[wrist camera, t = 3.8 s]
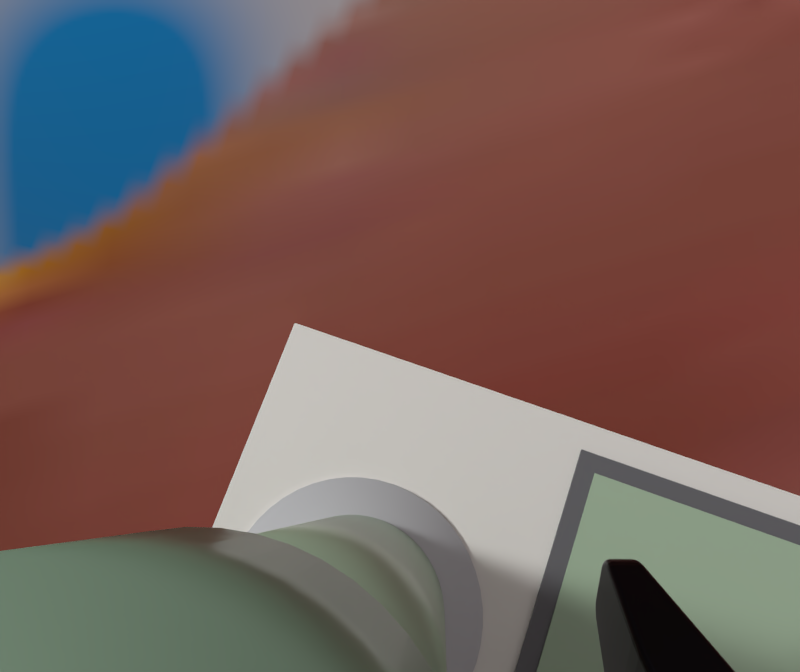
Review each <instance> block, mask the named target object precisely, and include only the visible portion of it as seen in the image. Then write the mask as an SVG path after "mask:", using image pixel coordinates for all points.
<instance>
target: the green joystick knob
mask: <svg viewBox="0 0 800 672" xmlns="http://www.w3.org/2000/svg"><path fill="white" fill-rule="evenodd" d="M0 672H447V664H446V637H445V611H444V601H443V594H442V590H441V586H440V582H439V580H438V577H437V574H436V572H435V570H434V568H433V566H432V564H431V562H430V560H429V559H428V557H427V556H426V554H425V553H424V552H423V550H422V549H421V548H420V547H419V546H418V544H417V543H416V542H415V541H414V540H413V539H412V538H410V537H409V536H408V535H407V534H406V533H404V532H403V531H402V530H400V529H398V528H397V527H395V526H394V525H392V524H389V523H387V522H385V521H383V520H380V519H376V518H373V517H369V516H363V515H340V516H333V517H329V518H324V519H320V520H315V521H311V522H306V523H302V524H297V525H293V526H288V527H284V528H279V529H275V530H270V531H266V532H262V533H257V534H255V533H249V532H243V531H237V530H231V529H225V528H205V527H182V528H173V529H165V530H156V531H148V532H140V533H133V534H125V535H118V536H110V537H103V538H95V539H88V540H80V541H73V542H65V543H58V544H50V545H43V546H35V547H28V548H20V549H13V550H5V551H0Z"/></svg>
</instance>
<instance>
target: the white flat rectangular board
mask: <svg viewBox="0 0 800 672" xmlns="http://www.w3.org/2000/svg"><path fill="white" fill-rule="evenodd" d="M340 515H363V516H369V517H373V518H376V519H380V520H383V521H385V522H387V523H389V524H392V525H394V526H395V527H397V528H398V529H400V530H402V531H403V532H404V533H406V534H407V535H408V536H409V537H410V538H412V539H413V540H414V541H415V542H416V543H417V544H418V546H419V547H420V548H421V549H422V550H423V552H424V553H425V554H426V556H427V557H428V559H429V560H430V562H431V564H432V566H433V568H434V570H435V572H436V574H437V577H438V580H439V582H440V586H441V590H442V594H443V601H444V611H445V637H446V664H447V672H604V667H603V660H602V654H601V647H600V641H599V634H598V628H597V621H596V608H595V606H596V597H597V591H598V585H599V579H600V574H601V568H602V565H603V563H604V561H605V560H607V559H634V560H637V561H639V562H640V563H642V564H643V566H644V567H645V568H646V569H647V570H648V571H649V572H650V574H651V575H652V576H653V577H654V578H655V579H656V581H657V582H658V583H659V584H660V585H661V586H662V588H663V589H664V590H665V591H666V592H667V593H668V594H669V596H670V597H671V598H672V599H673V600H674V601H675V603H676V604H677V605H678V606H679V607H680V608H681V610H682V611H683V612H684V613H685V614H686V615H687V617H688V618H689V619H690V620H691V621H692V622H693V624H694V625H695V626H696V627H697V628H698V629H699V630H700V632H701V633H702V634H703V635H704V636H705V637H706V639H707V640H708V641H709V642H710V643H711V644H712V646H713V647H714V648H715V649H716V650H717V651H718V653H719V654H720V655H721V656H722V657H723V658H724V659H725V661H726V662H727V663H728V664H729V665H730V666H731V668H732V669H733V670H734V671H735V672H800V496H798V495H795V494H792V493H789V492H786V491H783V490H780V489H777V488H775V487H772V486H769V485H766V484H763V483H760V482H757V481H754V480H751V479H748V478H745V477H742V476H740V475H737V474H734V473H731V472H728V471H725V470H722V469H719V468H716V467H713V466H710V465H707V464H705V463H702V462H699V461H696V460H693V459H690V458H687V457H684V456H681V455H678V454H675V453H672V452H670V451H667V450H664V449H661V448H658V447H655V446H652V445H649V444H646V443H643V442H640V441H638V440H635V439H632V438H629V437H626V436H623V435H620V434H617V433H614V432H611V431H608V430H605V429H603V428H600V427H597V426H594V425H591V424H588V423H585V422H582V421H579V420H576V419H573V418H570V417H568V416H565V415H562V414H559V413H556V412H553V411H550V410H547V409H544V408H541V407H538V406H536V405H533V404H530V403H527V402H524V401H521V400H518V399H515V398H512V397H509V396H506V395H503V394H501V393H498V392H495V391H492V390H489V389H486V388H483V387H480V386H477V385H474V384H471V383H468V382H466V381H463V380H460V379H457V378H454V377H451V376H448V375H445V374H442V373H439V372H436V371H433V370H431V369H428V368H425V367H422V366H419V365H416V364H413V363H410V362H407V361H404V360H401V359H399V358H396V357H393V356H390V355H387V354H384V353H381V352H378V351H375V350H372V349H369V348H366V347H364V346H361V345H358V344H355V343H352V342H349V341H346V340H343V339H340V338H337V337H334V336H331V335H329V334H326V333H323V332H320V331H317V330H314V329H311V328H308V327H305V326H302V325H299V324H296V323H295V324H294V326H293V329H292V331H291V334H290V336H289V339H288V341H287V344H286V346H285V349H284V351H283V353H282V356H281V358H280V361H279V363H278V366H277V368H276V371H275V373H274V376H273V378H272V381H271V383H270V386H269V388H268V391H267V393H266V396H265V398H264V401H263V403H262V406H261V408H260V410H259V413H258V415H257V418H256V420H255V423H254V425H253V428H252V430H251V433H250V435H249V438H248V440H247V443H246V445H245V448H244V450H243V453H242V455H241V458H240V460H239V463H238V465H237V468H236V470H235V472H234V475H233V477H232V480H231V482H230V485H229V487H228V490H227V492H226V495H225V497H224V500H223V502H222V505H221V507H220V510H219V512H218V515H217V517H216V520H215V522H214V525H213V527H212V528H225V529H231V530H237V531H243V532H249V533H255V534H257V533H262V532H266V531H270V530H275V529H279V528H284V527H288V526H293V525H297V524H302V523H306V522H311V521H315V520H320V519H324V518H329V517H333V516H340Z"/></svg>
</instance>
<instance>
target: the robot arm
mask: <svg viewBox="0 0 800 672" xmlns="http://www.w3.org/2000/svg"><path fill="white" fill-rule="evenodd" d="M595 608H596V621H597V628H598V634H599V641H600V647H601V654H602V660H603V667H604V672H735V671H734V670H733V669H732V668H731V666H730V665H729V664H728V663H727V662H726V661H725V659H724V658H723V657H722V656H721V655H720V654H719V653H718V651H717V650H716V649H715V648H714V647H713V646H712V644H711V643H710V642H709V641H708V640H707V639H706V637H705V636H704V635H703V634H702V633H701V632H700V630H699V629H698V628H697V627H696V626H695V625H694V624H693V622H692V621H691V620H690V619H689V618H688V617H687V615H686V614H685V613H684V612H683V611H682V610H681V608H680V607H679V606H678V605H677V604H676V603H675V601H674V600H673V599H672V598H671V597H670V596H669V594H668V593H667V592H666V591H665V590H664V589H663V588H662V586H661V585H660V584H659V583H658V582H657V581H656V579H655V578H654V577H653V576H652V575H651V574H650V572H649V571H648V570H647V569H646V568H645V567H644V566H643V564H642V563H640V562H639V561H637V560H634V559H607V560H605V561H604V563H603V565H602V568H601V574H600V579H599V585H598V591H597V597H596V606H595Z"/></svg>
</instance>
